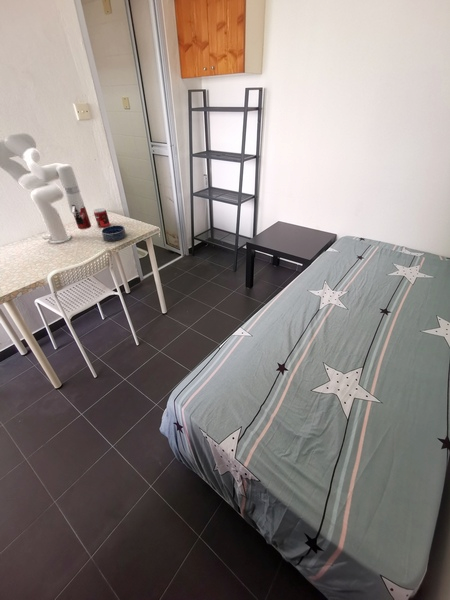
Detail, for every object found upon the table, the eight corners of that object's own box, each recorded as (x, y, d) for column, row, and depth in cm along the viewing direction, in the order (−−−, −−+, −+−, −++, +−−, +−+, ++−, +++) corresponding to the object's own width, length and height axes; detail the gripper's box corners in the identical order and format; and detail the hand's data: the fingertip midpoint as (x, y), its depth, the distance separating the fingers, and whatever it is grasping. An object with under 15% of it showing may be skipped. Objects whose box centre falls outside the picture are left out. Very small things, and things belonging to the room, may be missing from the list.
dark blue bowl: (104, 243, 174) (102, 236, 171) (102, 235, 184) (100, 228, 181) (128, 238, 178) (126, 231, 175) (124, 231, 188) (122, 223, 185)
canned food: (98, 224, 199) (93, 209, 193) (110, 222, 201) (105, 207, 194) (97, 228, 193) (92, 212, 187) (110, 226, 195) (105, 211, 189)
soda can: (87, 230, 162) (79, 209, 155) (75, 229, 164) (68, 209, 156) (94, 225, 168) (87, 205, 161) (83, 224, 169) (76, 204, 162)
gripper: (70, 186, 160) (80, 216, 170) (58, 195, 146) (71, 227, 156) (83, 185, 160) (93, 215, 171) (73, 194, 146) (85, 226, 157)
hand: (82, 221), depth 163 cm, fingers closed on soda can, 7 cm apart
